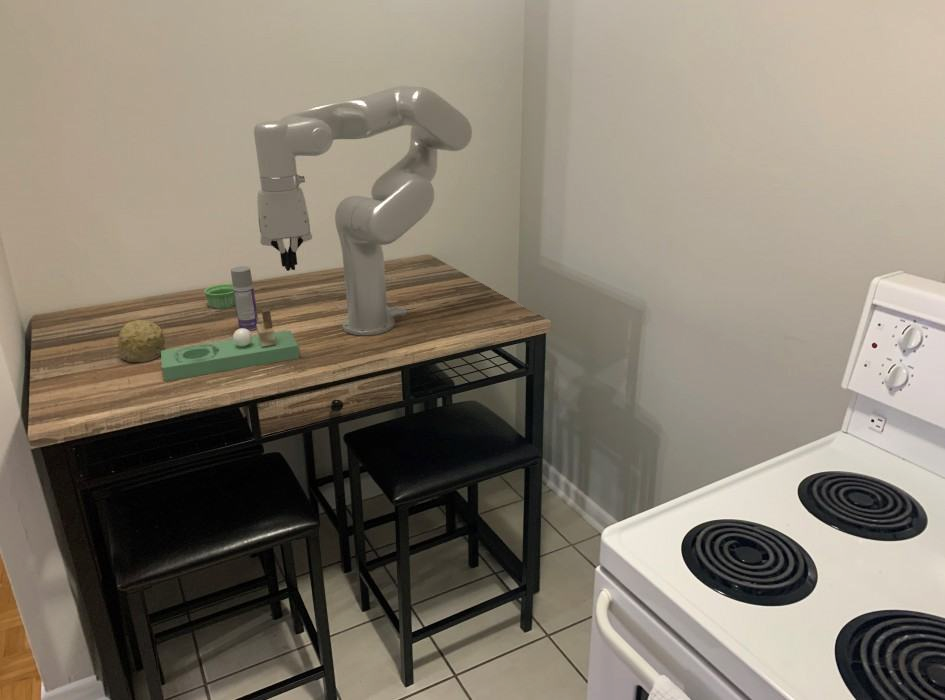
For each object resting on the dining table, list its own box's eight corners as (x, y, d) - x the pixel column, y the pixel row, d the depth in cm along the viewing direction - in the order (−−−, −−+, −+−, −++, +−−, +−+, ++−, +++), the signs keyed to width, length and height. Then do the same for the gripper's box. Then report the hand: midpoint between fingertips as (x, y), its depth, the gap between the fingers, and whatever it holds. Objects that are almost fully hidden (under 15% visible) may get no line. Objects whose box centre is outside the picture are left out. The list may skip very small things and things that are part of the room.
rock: (161, 358, 172) (140, 321, 171) (179, 346, 164) (157, 307, 163) (124, 376, 165) (101, 337, 164) (140, 364, 157) (116, 323, 156)
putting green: (291, 342, 170) (290, 330, 169) (299, 358, 162) (298, 345, 161) (163, 363, 161) (160, 350, 160) (164, 381, 152) (161, 368, 151)
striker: (271, 335, 166) (267, 305, 163) (275, 344, 161) (271, 313, 158) (258, 337, 165) (253, 307, 162) (261, 346, 160) (257, 315, 157)
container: (246, 323, 182) (237, 265, 176) (262, 325, 181) (254, 266, 175) (235, 330, 178) (226, 271, 172) (252, 332, 177) (243, 272, 171)
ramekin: (246, 298, 200) (243, 283, 198) (235, 309, 192) (233, 294, 190) (213, 298, 200) (211, 283, 199) (201, 310, 192) (199, 294, 190)
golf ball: (252, 341, 164) (249, 324, 162) (254, 347, 160) (251, 330, 159) (233, 344, 162) (230, 327, 161) (235, 350, 159) (232, 333, 157)
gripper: (312, 177, 157) (320, 260, 165) (240, 184, 152) (252, 268, 159) (319, 183, 151) (328, 269, 158) (244, 190, 146) (256, 278, 153)
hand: (290, 268), depth 159 cm, fingers closed
